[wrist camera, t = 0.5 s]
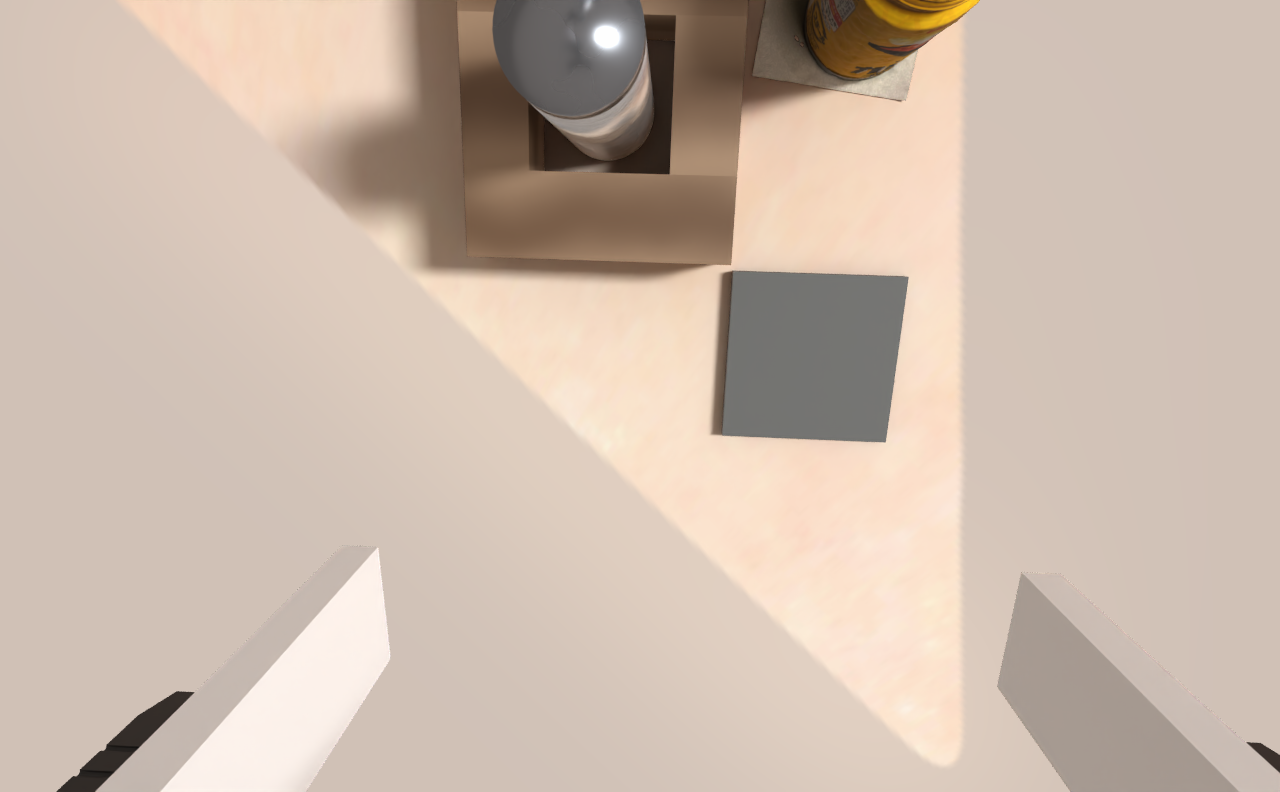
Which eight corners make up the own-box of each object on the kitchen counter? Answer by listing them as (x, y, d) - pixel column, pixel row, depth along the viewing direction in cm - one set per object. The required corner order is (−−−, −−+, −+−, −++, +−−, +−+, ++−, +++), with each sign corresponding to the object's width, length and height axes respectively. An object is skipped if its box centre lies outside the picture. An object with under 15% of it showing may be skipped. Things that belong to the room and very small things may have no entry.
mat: (732, 270, 36) (733, 271, 36) (904, 276, 36) (908, 277, 35) (721, 432, 39) (722, 435, 38) (882, 439, 38) (885, 442, 38)
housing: (478, -57, 33) (452, -96, 29) (744, -53, 32) (754, -92, 28) (488, 253, 37) (466, 256, 33) (724, 261, 36) (731, 265, 32)
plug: (561, 58, 34) (490, -58, 20) (656, 60, 34) (647, -56, 20) (561, 159, 35) (494, 112, 22) (652, 161, 35) (642, 116, 21)
